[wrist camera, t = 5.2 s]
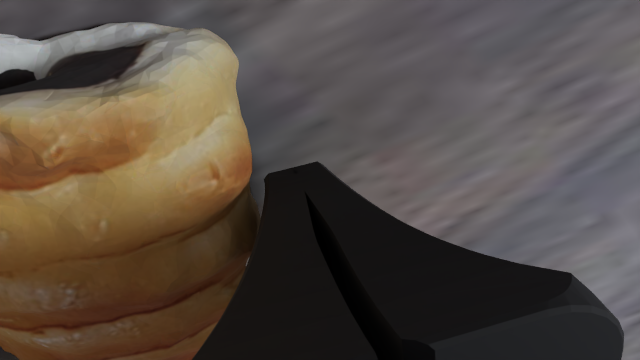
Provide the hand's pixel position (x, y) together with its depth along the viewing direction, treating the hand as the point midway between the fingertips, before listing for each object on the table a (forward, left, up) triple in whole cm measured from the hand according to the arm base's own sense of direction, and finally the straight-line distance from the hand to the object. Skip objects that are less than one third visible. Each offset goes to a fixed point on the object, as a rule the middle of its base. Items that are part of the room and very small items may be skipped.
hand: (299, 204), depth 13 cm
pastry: (+1, +4, -2) cm, 4 cm away
